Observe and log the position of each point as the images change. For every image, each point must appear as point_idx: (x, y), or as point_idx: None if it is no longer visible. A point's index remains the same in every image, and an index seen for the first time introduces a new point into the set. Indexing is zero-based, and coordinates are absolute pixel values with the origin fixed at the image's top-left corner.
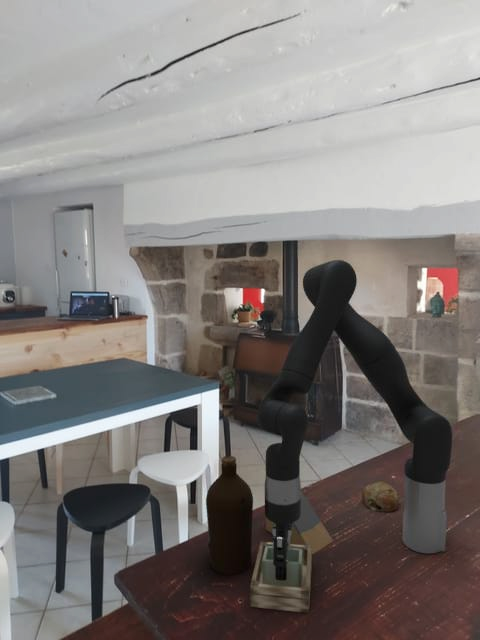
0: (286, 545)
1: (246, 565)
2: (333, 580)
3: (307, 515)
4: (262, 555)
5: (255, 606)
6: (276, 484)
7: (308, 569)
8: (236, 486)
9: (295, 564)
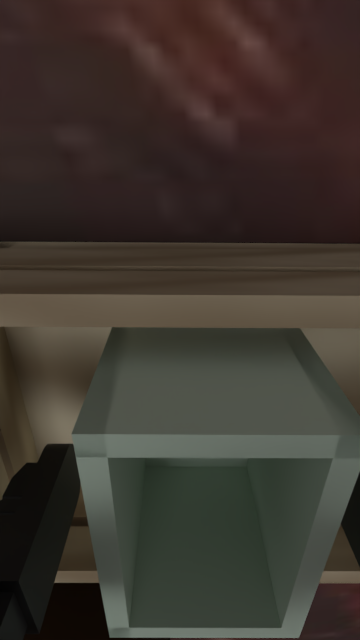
0: (46, 536)
1: None
2: (98, 66)
3: None
4: (81, 531)
5: None
6: None
7: (254, 310)
8: None
9: (352, 470)
